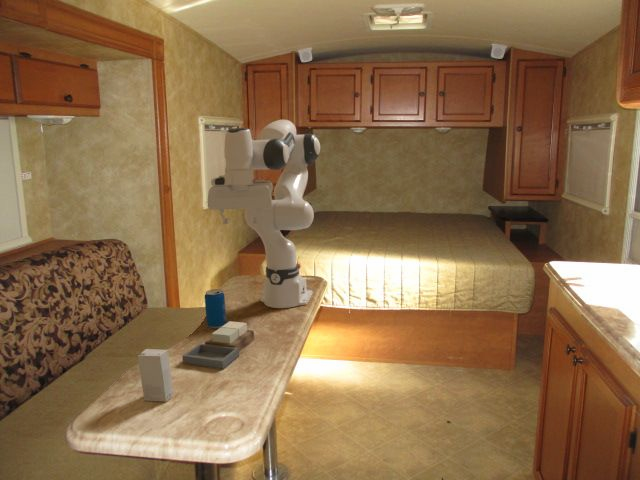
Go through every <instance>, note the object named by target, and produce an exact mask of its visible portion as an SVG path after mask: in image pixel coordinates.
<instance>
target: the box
mask: <svg viewBox="0 0 640 480" xmlns="http://www.w3.org/2000/svg"><path fill="white" fill-rule="evenodd" d="M181 357H182V364H183V365H187V366H188V365H189V366H195V367H202V368H208V369H215V370H223V371H224V370H225V369H226V368H227V367H229V366H230V365H231V364H232V363H234V361H236V360H237V359H238V358H239V357H240V352H239V348H233V347H225V346H217V345H209V344H205V343H198V344H197V345H196V346H194V347H193V348H191V349H190V350H188V351H187V352H185V353H184V354H183V355H182V356H181Z"/></svg>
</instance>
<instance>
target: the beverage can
mask: <svg viewBox="0 0 640 480" xmlns="http://www.w3.org/2000/svg"><path fill="white" fill-rule="evenodd" d="M225 298H226V297H225V293H224V291H223V289H221V288H219V289H218V288H213V289H212V288H211V289H209V290H208V289H207V290H206V291H205V294H204V307H205V318H206V327H209V328H210V329H219V328H221V327H222V326H224V325H225V324H226V323H227V313H226V300H225Z"/></svg>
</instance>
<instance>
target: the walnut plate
mask: <svg viewBox="0 0 640 480" xmlns="http://www.w3.org/2000/svg"><path fill="white" fill-rule="evenodd" d="M254 341H255V330H250V329H247V331H246V332H245V333H244V334H242V335H241V336H240V337H238V338H237V339H236V340H234V341H233V342H232V343H230V344H229V343H221V342H213V341H212V336H211V337H210V338H208V339H207V340H205V341H204V344H209V345H217V346H225V347H233V348H239V353H241V351H243V350H244V349H245V348H246V347H247V346H248V345H250V344H251V343H252V342H254Z"/></svg>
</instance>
